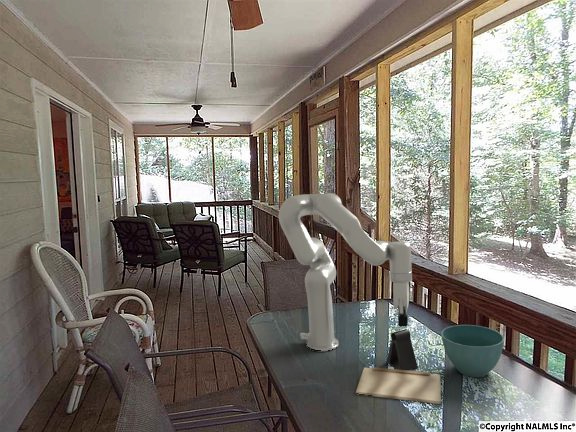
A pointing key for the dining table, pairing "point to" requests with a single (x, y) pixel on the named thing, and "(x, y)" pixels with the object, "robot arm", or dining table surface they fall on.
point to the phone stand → (402, 351)
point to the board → (400, 384)
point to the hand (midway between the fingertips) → (403, 325)
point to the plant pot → (473, 348)
